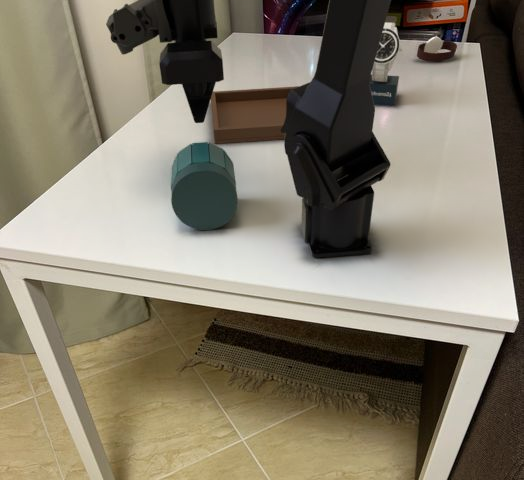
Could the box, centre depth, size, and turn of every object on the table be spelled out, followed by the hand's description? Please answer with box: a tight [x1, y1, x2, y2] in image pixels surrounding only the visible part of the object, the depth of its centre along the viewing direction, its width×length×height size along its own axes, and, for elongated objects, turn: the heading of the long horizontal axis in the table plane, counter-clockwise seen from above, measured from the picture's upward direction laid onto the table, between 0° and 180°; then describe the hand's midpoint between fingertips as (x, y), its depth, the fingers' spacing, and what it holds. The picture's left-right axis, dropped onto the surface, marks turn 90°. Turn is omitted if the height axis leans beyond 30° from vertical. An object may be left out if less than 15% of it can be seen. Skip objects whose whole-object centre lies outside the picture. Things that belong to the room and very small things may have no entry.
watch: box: [370, 21, 404, 107], centre depth 86 cm, size 6×8×11 cm
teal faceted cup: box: [170, 141, 239, 231], centre depth 62 cm, size 7×7×7 cm
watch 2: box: [416, 35, 458, 63], centre depth 103 cm, size 8×5×4 cm, turn 105°
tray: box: [210, 85, 300, 145], centre depth 84 cm, size 15×16×2 cm
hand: (199, 121), depth 66 cm, fingers closed
